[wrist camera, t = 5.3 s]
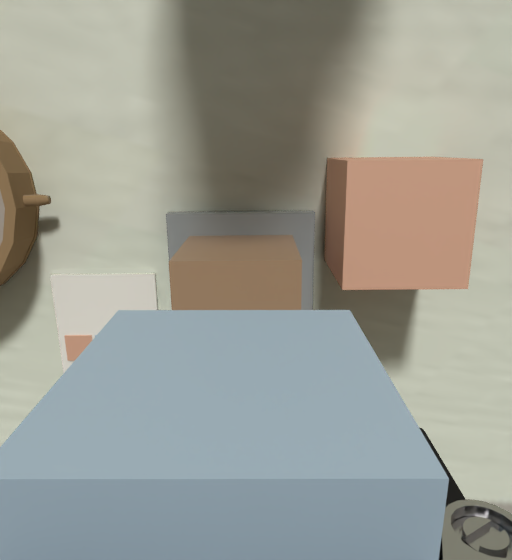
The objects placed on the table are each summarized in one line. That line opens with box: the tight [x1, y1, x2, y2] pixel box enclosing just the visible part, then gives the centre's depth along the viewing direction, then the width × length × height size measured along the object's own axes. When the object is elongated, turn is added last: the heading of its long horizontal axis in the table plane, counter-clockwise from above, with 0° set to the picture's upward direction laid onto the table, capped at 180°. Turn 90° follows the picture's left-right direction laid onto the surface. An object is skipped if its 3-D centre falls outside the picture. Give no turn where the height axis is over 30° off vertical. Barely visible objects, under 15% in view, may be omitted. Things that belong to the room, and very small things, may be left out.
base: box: [166, 211, 315, 310], centre depth 24 cm, size 8×8×7 cm
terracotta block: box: [324, 157, 483, 290], centre depth 23 cm, size 6×6×6 cm
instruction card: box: [50, 273, 158, 373], centre depth 28 cm, size 6×9×1 cm, turn 1°
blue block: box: [0, 310, 449, 560], centre depth 9 cm, size 6×6×6 cm
